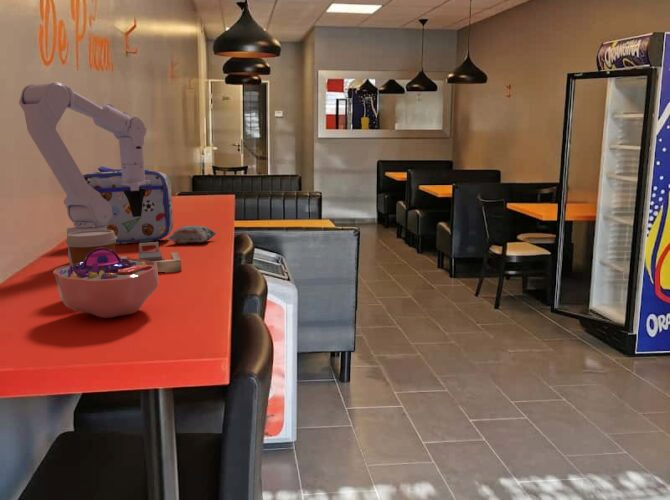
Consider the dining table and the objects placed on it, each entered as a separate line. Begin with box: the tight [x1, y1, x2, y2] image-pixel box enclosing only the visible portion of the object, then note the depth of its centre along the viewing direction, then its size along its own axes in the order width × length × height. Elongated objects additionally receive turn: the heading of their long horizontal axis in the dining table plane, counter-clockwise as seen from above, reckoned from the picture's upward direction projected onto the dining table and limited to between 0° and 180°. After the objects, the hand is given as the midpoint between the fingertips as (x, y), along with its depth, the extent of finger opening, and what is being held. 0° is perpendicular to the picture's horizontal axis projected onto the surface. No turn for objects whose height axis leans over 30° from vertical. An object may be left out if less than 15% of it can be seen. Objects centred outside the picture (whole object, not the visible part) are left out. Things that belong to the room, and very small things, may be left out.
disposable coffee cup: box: [65, 230, 117, 264], centre depth 138 cm, size 10×10×12 cm
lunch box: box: [82, 166, 174, 245], centre depth 203 cm, size 28×10×22 cm, turn 92°
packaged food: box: [165, 225, 217, 245], centre depth 199 cm, size 9×12×5 cm
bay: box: [120, 251, 183, 273], centre depth 162 cm, size 13×12×2 cm
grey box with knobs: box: [137, 241, 165, 261], centre depth 163 cm, size 6×9×5 cm
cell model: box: [52, 247, 160, 319], centre depth 121 cm, size 17×20×11 cm
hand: (136, 216), depth 186 cm, fingers closed
